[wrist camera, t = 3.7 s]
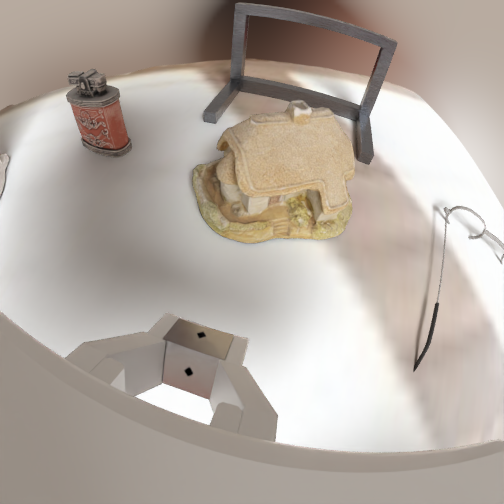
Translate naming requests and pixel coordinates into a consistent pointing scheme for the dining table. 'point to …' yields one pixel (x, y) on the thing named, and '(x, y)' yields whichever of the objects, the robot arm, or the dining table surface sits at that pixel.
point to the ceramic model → (279, 177)
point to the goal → (297, 93)
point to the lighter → (98, 114)
